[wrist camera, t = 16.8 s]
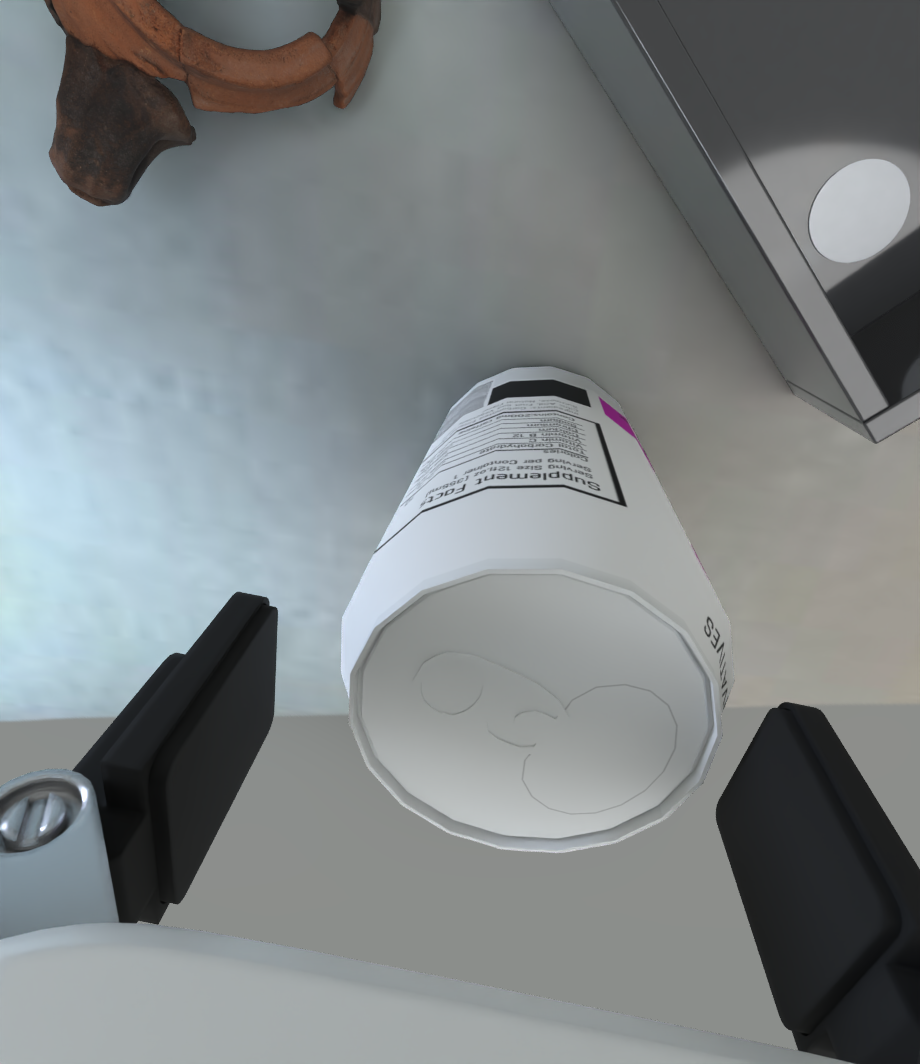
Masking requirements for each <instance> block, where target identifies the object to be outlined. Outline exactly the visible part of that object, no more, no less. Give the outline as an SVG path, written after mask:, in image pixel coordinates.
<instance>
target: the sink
mask: <svg viewBox="0 0 920 1064" xmlns="http://www.w3.org/2000/svg"><path fill="white" fill-rule="evenodd" d="M548 1H549V2H550V4H551V5H552V7H553V9H554V10H555V12H556V13H557V15H558V17H559V18H560V20H561V21H562V23H563V25H564V26H565V28H566V29H567V31H568V33H569V34H570V36H571V37H572V39H573V41H574V42H575V44H576V46H577V47H578V49H579V50H580V52H581V54H582V55H583V57H584V58H585V60H586V62H587V63H588V65H589V66H590V68H591V70H592V71H593V73H594V74H595V76H596V78H597V79H598V81H599V82H600V84H601V86H602V87H603V89H604V90H605V92H606V94H607V95H608V97H609V98H610V100H611V102H612V103H613V105H614V106H615V108H616V110H617V111H618V113H619V114H620V116H621V118H622V119H623V121H624V122H625V124H626V126H627V127H628V129H629V130H630V132H631V134H632V135H633V137H634V138H635V140H636V142H637V143H638V145H639V146H640V148H641V150H642V151H643V153H644V154H645V156H646V158H647V159H648V161H649V162H650V164H651V166H652V167H653V169H654V170H655V172H656V174H657V175H658V177H659V178H660V180H661V182H662V183H663V185H664V186H665V188H666V190H667V191H668V193H669V194H670V196H671V198H672V199H673V201H674V202H675V204H676V206H677V207H678V209H679V211H680V212H681V214H682V215H683V217H684V219H685V220H686V222H687V223H688V225H689V227H690V228H691V230H692V231H693V233H694V235H695V236H696V238H697V239H698V241H699V243H700V244H701V246H702V247H703V249H704V251H705V252H706V254H707V255H708V257H709V259H710V260H711V262H712V263H713V265H714V267H715V268H716V270H717V271H718V273H719V275H720V276H721V278H722V279H723V281H724V283H725V284H726V286H727V287H728V289H729V291H730V292H731V294H732V295H733V297H734V299H735V300H736V302H737V303H738V305H739V307H740V308H741V310H742V311H743V313H744V315H745V316H746V318H747V319H748V321H749V323H750V324H751V326H752V327H753V329H754V331H755V332H756V334H757V335H758V337H759V339H760V340H761V342H762V343H763V345H764V347H765V348H766V350H767V351H768V353H769V355H770V356H771V358H772V359H773V361H774V363H775V364H776V366H777V367H778V369H779V371H780V372H781V374H782V375H783V377H784V378H785V379H786V382H787V384H788V385H789V387H790V388H791V390H792V392H793V393H794V395H795V396H797V397H799V398H800V399H802V400H803V401H805V402H807V403H808V404H810V405H812V406H813V407H815V408H817V409H818V410H820V411H822V412H823V413H825V414H827V415H828V416H830V417H832V418H833V419H835V420H837V421H838V422H840V423H842V424H843V425H845V426H847V427H848V428H850V429H852V430H853V431H855V432H857V433H858V434H860V435H862V436H863V437H865V438H866V439H868V440H870V441H871V442H873V443H875V444H876V443H879V442H881V441H882V440H884V439H886V438H888V437H889V436H891V435H893V434H894V433H896V432H898V431H900V430H901V429H903V428H905V427H906V426H908V425H910V424H912V423H913V422H915V421H917V420H918V419H920V292H919V291H920V0H548ZM917 292H918V293H917ZM916 293H917V294H916ZM914 294H915V295H914ZM913 295H914V296H913ZM911 296H912V297H911ZM910 297H911V298H910ZM908 298H909V299H908ZM905 300H906V301H905ZM902 302H903V303H902ZM899 304H900V305H899ZM896 306H897V307H896ZM893 308H894V309H893ZM890 310H891V311H890ZM888 311H889V312H888ZM887 312H888V313H887ZM885 313H886V314H885ZM884 314H885V315H884ZM882 315H883V316H882ZM881 316H882V317H881ZM879 317H880V318H879ZM878 318H879V319H878ZM876 319H877V320H876ZM875 320H876V321H875ZM873 321H874V322H873ZM872 322H873V323H872ZM870 323H871V324H870ZM869 324H870V325H869ZM867 325H868V326H867ZM864 327H865V328H864ZM861 329H862V330H861ZM858 331H859V332H858ZM855 333H856V334H855ZM852 335H853V336H852Z"/></svg>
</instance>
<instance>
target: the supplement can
mask: <svg viewBox="0 0 920 1064" xmlns="http://www.w3.org/2000/svg"><path fill="white" fill-rule="evenodd" d="M341 674H342V677H343V681H344V684H345V687H346V690H347V694H348V697H349V725H350V727H351V729H352V732H353V734H354V737H355V739H356V742H357V744H358V746H359V749H360V751H361V754H362V756H363V759H364V761H365V764H366V766H367V768H368V769H369V770H370V771H371V772H372V773H373V774H374V776H375V777H376V778H377V779H378V780H379V781H380V782H381V783H382V784H383V785H384V786H385V788H386V789H387V790H388V791H389V792H390V793H391V794H392V795H393V796H394V797H395V798H396V799H397V801H399V803H400V804H401V805H402V806H404V807H406V808H407V809H409V810H410V811H412V812H414V813H416V814H417V815H419V816H421V817H422V818H424V819H425V820H427V821H429V822H430V823H432V824H434V825H436V826H437V827H439V828H440V829H442V830H444V831H445V832H447V833H449V834H453V835H456V836H459V837H462V838H466V839H469V840H472V841H476V842H479V843H482V844H486V845H489V846H492V847H495V848H499V849H502V850H517V851H533V852H548V853H563V852H569V851H574V850H580V849H586V848H592V847H597V846H603V845H608V844H614V843H617V842H619V841H622V840H623V839H626V838H628V837H630V836H632V835H634V834H636V833H638V832H640V831H643V830H645V829H646V828H649V827H651V826H653V825H655V824H657V823H659V822H661V821H664V820H665V819H667V818H668V817H669V816H670V815H671V814H672V813H673V812H674V811H675V810H676V809H677V808H678V807H679V806H680V805H681V804H682V803H683V802H684V801H685V800H686V799H687V798H688V797H689V796H690V795H691V794H692V793H693V792H694V791H695V790H697V789H698V788H699V786H700V785H702V784H703V782H704V780H705V778H706V775H707V773H708V770H709V768H710V765H711V763H712V761H713V758H714V756H715V753H716V751H717V748H718V746H719V743H720V741H721V739H722V736H723V734H722V722H721V715H722V712H723V709H724V707H725V704H726V702H727V699H728V697H729V694H730V691H731V689H732V686H733V684H734V666H733V652H732V637H731V623H730V621H729V619H728V617H727V615H726V613H725V611H724V609H723V607H722V605H721V603H720V601H719V599H718V597H717V595H716V593H715V591H714V589H713V587H712V585H711V583H710V581H709V579H708V577H707V575H706V573H705V571H704V569H703V567H702V565H701V563H700V561H699V559H698V557H697V555H696V553H695V551H694V549H693V547H692V545H691V543H690V541H689V539H688V537H687V535H686V533H685V531H684V529H683V527H682V525H681V523H680V521H679V519H678V517H677V515H676V513H675V511H674V509H673V507H672V505H671V503H670V501H669V499H668V497H667V495H666V493H665V491H664V489H663V487H662V485H661V483H660V481H659V479H658V477H657V475H656V473H655V471H654V469H653V467H652V465H651V463H650V461H649V459H648V457H647V455H646V453H645V451H644V449H643V447H642V445H641V443H640V441H639V439H638V437H637V435H636V434H635V432H634V430H633V428H632V426H631V425H630V423H629V421H628V419H627V417H626V416H625V414H624V412H623V410H622V409H621V407H620V405H619V403H618V401H616V400H615V399H614V398H613V397H611V396H610V395H609V394H608V393H606V392H605V391H604V390H603V389H601V388H600V387H599V386H598V385H596V384H595V383H594V382H593V381H592V380H590V379H589V378H587V377H584V376H581V375H578V374H575V373H571V372H568V371H565V370H562V369H559V368H556V367H553V366H544V367H523V368H512V369H509V370H507V371H504V372H502V373H500V374H497V375H495V376H493V377H490V378H488V379H485V380H483V381H481V382H478V383H477V384H476V385H475V386H474V387H473V388H472V389H471V390H470V391H468V392H467V393H466V394H465V395H464V396H463V397H462V398H461V399H460V400H459V401H458V402H457V403H456V404H455V405H453V406H452V407H451V409H450V411H449V413H448V415H447V416H446V418H445V420H444V422H443V424H442V426H441V428H440V430H439V432H438V433H437V435H436V437H435V439H434V441H433V443H432V445H431V447H430V449H429V451H428V452H427V454H426V456H425V458H424V460H423V462H422V464H421V466H420V468H419V469H418V471H417V473H416V475H415V477H414V479H413V481H412V483H411V485H410V486H409V488H408V490H407V492H406V494H405V496H404V498H403V500H402V502H401V503H400V505H399V507H398V509H397V511H396V513H395V515H394V517H393V519H392V521H391V522H390V524H389V526H388V528H387V530H386V532H385V534H384V536H383V538H382V539H381V541H380V543H379V545H378V547H377V549H376V551H375V553H374V555H373V556H372V558H371V560H370V562H369V564H368V566H367V568H366V570H365V572H364V574H363V576H362V578H361V580H360V582H359V584H358V586H357V588H356V591H355V593H354V595H353V597H352V599H351V601H350V603H349V605H348V607H347V609H346V611H345V613H344V615H343V617H342V640H341Z"/></svg>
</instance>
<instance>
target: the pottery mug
mask: <svg viewBox="0 0 920 1064" xmlns="http://www.w3.org/2000/svg"><path fill="white" fill-rule="evenodd" d="M44 1H45V3H46V5H47V7H48V9H49V11H50V13H51V14H52V16H53V18H54V19H55V21H56V23H57V24H58V25H59V26H60V27H61V28H62V29H63V31H64V33H65V34H66V55H65V63H64V69H63V73H62V78H61V83H60V87H59V91H58V94H57V99H56V109H57V121H56V129H55V133H54V138H53V143H52V147H51V149H50V151H49V157H50V160H51V162H52V164H53V166H54V167H55V169H56V171H57V173H58V175H59V176H60V178H61V180H62V181H63V182H64V183H66V184H67V186H68V187H69V189H70V190H71V191H72V192H73V193H75V194H76V195H78V196H79V197H80V198H82V199H84V200H86V201H88V202H90V203H92V204H94V205H96V206H109V205H117V204H120V203H123V202H124V201H125V200H126V199H127V198H128V197H129V196H130V194H131V192H132V190H133V189H134V187H135V185H136V184H137V182H138V181H139V179H140V178H141V176H142V175H143V173H144V172H145V170H146V169H147V167H148V166H149V164H150V163H151V162H152V161H153V160H154V159H155V158H156V157H157V156H158V155H159V154H160V153H161V152H162V151H164V150H166V149H169V148H172V147H176V146H183V145H191V144H192V142H193V141H195V139H196V133H195V129H194V127H193V126H191V125H190V123H189V121H188V119H187V117H186V115H185V113H184V111H183V109H182V107H181V105H180V103H179V102H178V100H177V98H176V97H175V96H174V94H173V93H172V92H171V91H170V90H169V89H168V88H167V87H165V86H164V85H163V84H161V83H160V82H159V81H158V80H156V79H155V77H159V78H168V77H169V78H174V79H178V80H181V81H184V82H185V83H186V84H187V85H188V88H189V90H190V94H191V99H192V102H193V105H194V107H195V108H197V109H201V110H204V111H217V112H228V113H234V112H243V113H253V114H256V113H263V112H267V111H272V110H278V109H282V108H289V107H294V106H299V105H302V104H304V103H307V102H309V101H312V100H314V99H315V98H317V97H319V96H321V95H322V94H324V93H325V92H327V91H328V90H329V89H331V88H332V87H333V86H334V85H335V94H334V98H333V104H334V105H335V106H336V107H338V108H340V109H344V108H345V107H346V106H347V105H348V104H349V102H350V101H351V99H352V98H353V96H354V94H355V92H356V90H357V89H358V87H359V85H360V83H361V81H362V79H363V77H364V75H365V72H366V70H367V67H368V64H369V62H370V59H371V56H372V52H373V36H374V35H375V34H376V33H377V32H378V29H379V25H380V20H381V0H337V3H338V5H339V11H338V13H337V15H336V17H335V18H334V20H333V22H332V23H331V26H330V28H329V30H328V31H327V33H326V34H325V36H324V37H323V38H322V39H321V38H320V37H319V36H318V35H317V34H315V33H314V32H308V33H307V34H305V35H304V36H302V37H300V38H298V39H297V40H295V41H293V42H291V43H289V44H286V45H283V46H281V47H277V48H274V49H269V50H248V49H241V48H235V47H231V46H227V45H224V44H222V43H219V42H216V41H214V40H212V39H210V38H207V37H205V36H203V35H202V34H200V33H198V32H196V31H194V30H192V29H190V28H188V27H185V26H183V25H182V24H181V23H180V22H179V21H178V20H177V19H176V18H175V17H174V16H173V15H172V14H171V13H169V12H168V11H167V10H166V9H165V8H164V7H162V5H161V4H160V3H159V2H158V1H157V0H44Z"/></svg>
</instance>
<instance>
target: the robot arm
mask: <svg viewBox="0 0 920 1064" xmlns="http://www.w3.org/2000/svg"><path fill="white" fill-rule="evenodd" d="M277 622H278V610H277V608H276V607H272V606H269V600H268V598H267V597H262V596H257V595H252V594H247V593H242V592H236V593H235V594H234V595H233V596H232V597H231V598H230V599H229V601H228V602H227V603H226V604H225V606H224V607H223V608H222V609H221V611H220V612H219V613H218V614H217V616H216V617H215V618H214V619H213V621H212V622H211V623H210V625H209V626H208V627H207V628H206V630H205V631H204V632H203V633H202V635H201V636H200V637H199V638H198V640H197V641H196V642H195V643H194V645H193V646H192V647H191V648H190V650H189V651H188V652H187V653H186V655H185V654H180V653H174V654H172V655H170V656H169V657H168V658H167V659H166V660H165V661H164V662H163V663H162V664H161V665H160V666H159V668H158V669H157V670H156V671H155V672H154V674H153V675H152V676H151V677H150V678H149V680H148V681H147V682H146V683H145V684H144V686H143V687H142V688H141V689H140V690H139V692H138V693H137V694H136V695H135V696H134V698H133V699H132V700H131V701H130V702H129V704H128V705H127V706H126V707H125V708H124V709H123V711H122V712H121V713H120V714H119V715H118V717H117V718H116V719H115V720H114V721H113V723H112V724H111V725H110V726H109V727H108V729H107V730H106V731H105V732H104V733H103V735H102V736H101V737H100V738H99V739H98V741H97V742H96V743H95V744H94V745H93V747H92V748H91V749H90V750H89V751H88V753H87V754H86V755H85V756H84V757H83V758H82V760H81V761H80V762H79V763H78V764H77V766H76V767H75V768H74V769H73V770H72V771H71V770H67V769H45V770H40V771H36V772H31V773H27V774H25V775H23V776H20V777H17V778H15V779H13V780H10V781H8V782H7V783H5V784H4V785H2V786H1V787H0V1064H920V869H919V867H918V866H917V864H916V863H915V861H914V859H913V858H912V856H911V855H910V853H909V851H908V850H907V848H906V846H905V845H904V844H903V842H902V840H901V838H900V837H899V835H898V833H897V832H896V830H895V829H894V827H893V825H892V824H891V822H890V820H889V819H888V817H887V816H886V814H885V812H884V811H883V809H882V808H881V806H880V804H879V803H878V801H877V799H876V798H875V796H874V795H873V793H872V791H871V790H870V788H869V786H868V785H867V783H866V782H865V780H864V778H863V777H862V775H861V773H860V772H859V770H858V769H857V767H856V765H855V764H854V762H853V761H852V759H851V757H850V756H849V754H848V752H847V751H846V749H845V748H844V746H843V745H842V743H841V741H840V739H839V738H838V736H837V735H836V733H835V732H834V730H833V728H832V727H831V725H830V723H829V722H828V720H827V718H826V717H825V715H824V714H823V713H822V712H821V710H819V709H817V708H814V707H809V706H804V705H799V704H794V703H789V702H784V703H782V704H780V705H779V707H778V708H772V709H770V710H769V712H768V713H767V715H766V717H765V718H764V720H763V722H762V724H761V726H760V727H759V729H758V731H757V733H756V735H755V737H754V738H753V740H752V742H751V744H750V746H749V747H748V749H747V751H746V753H745V754H744V756H743V758H742V760H741V762H740V764H739V765H738V767H737V769H736V771H735V772H734V774H733V776H732V778H731V779H730V781H729V783H728V785H727V787H726V789H725V790H724V792H723V794H722V796H721V797H720V799H719V801H718V804H717V808H716V821H717V825H718V828H719V831H720V834H721V837H722V840H723V843H724V846H725V849H726V852H727V856H728V859H729V862H730V865H731V868H732V871H733V874H734V877H735V880H736V883H737V887H738V890H739V893H740V896H741V899H742V902H743V905H744V908H745V911H746V914H747V917H748V921H749V924H750V927H751V930H752V933H753V936H754V939H755V942H756V945H757V948H758V951H759V955H760V957H761V961H762V964H763V967H764V970H765V973H766V976H767V979H768V982H769V985H770V988H771V992H772V995H773V998H774V1001H775V1004H776V1007H777V1010H778V1013H779V1016H780V1018H781V1021H782V1023H783V1024H784V1026H785V1027H786V1028H787V1029H788V1030H792V1033H793V1036H794V1039H795V1042H796V1045H797V1048H798V1050H793V1049H788V1048H783V1047H779V1046H774V1045H769V1044H764V1043H759V1042H755V1041H750V1040H745V1039H740V1038H736V1037H731V1036H726V1035H722V1034H717V1033H712V1032H708V1031H703V1030H698V1029H693V1028H689V1027H684V1026H679V1025H675V1024H670V1023H665V1022H660V1021H656V1020H651V1019H646V1018H641V1017H637V1016H632V1015H627V1014H622V1013H617V1012H612V1011H607V1010H603V1009H598V1008H593V1007H588V1006H583V1005H578V1004H574V1003H569V1002H564V1001H559V1000H554V999H549V998H544V997H540V996H535V995H530V994H524V993H519V992H515V991H510V990H505V989H500V988H496V987H490V986H485V985H481V984H475V983H471V982H466V981H461V980H456V979H451V978H446V977H441V976H436V975H431V974H426V973H421V972H416V971H411V970H406V969H401V968H396V967H391V966H386V965H381V964H376V963H371V962H366V961H361V960H356V959H351V958H346V957H341V956H336V955H331V954H326V953H321V952H316V951H311V950H306V949H301V948H295V947H290V946H284V945H279V944H273V943H267V942H262V941H256V940H251V939H245V938H240V937H234V936H229V935H223V934H218V933H212V932H207V931H201V930H193V929H184V928H177V927H168V926H161V925H153V924H159V922H160V920H161V918H162V916H163V914H164V913H165V911H166V909H167V907H168V905H169V903H173V904H179V903H180V902H181V901H182V899H183V898H184V896H185V895H186V893H187V891H188V889H189V887H190V885H191V883H192V881H193V879H194V877H195V875H196V873H197V871H198V869H199V867H200V865H201V864H202V862H203V859H204V858H205V856H206V854H207V852H208V850H209V848H210V846H211V844H212V842H213V840H214V838H215V836H216V834H217V832H218V830H219V828H220V826H221V824H222V822H223V820H224V818H225V816H226V814H227V812H228V811H229V809H230V807H231V805H232V803H233V800H234V799H235V797H236V795H237V793H238V791H239V789H240V787H241V785H242V783H243V781H244V779H245V777H246V775H247V773H248V771H249V769H250V767H251V766H252V764H253V762H254V760H255V758H256V756H257V754H258V752H259V750H260V748H261V746H262V744H263V742H264V740H265V738H266V736H267V734H268V732H269V730H270V727H271V724H272V721H273V716H274V703H275V676H276V649H277ZM138 921H143V922H148V923H153V924H136V923H137V922H138Z"/></svg>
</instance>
